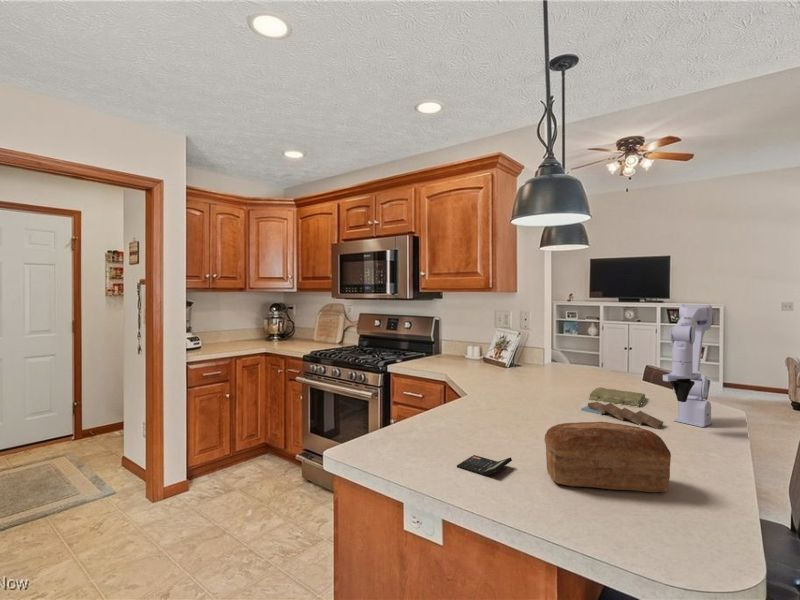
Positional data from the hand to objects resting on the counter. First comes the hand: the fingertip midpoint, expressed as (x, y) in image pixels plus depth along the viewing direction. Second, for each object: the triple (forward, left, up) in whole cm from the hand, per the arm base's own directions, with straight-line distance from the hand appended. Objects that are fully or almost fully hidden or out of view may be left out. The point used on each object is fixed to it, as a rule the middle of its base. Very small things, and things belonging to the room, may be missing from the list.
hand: (681, 401), depth 140 cm
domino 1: (+26, +1, -10) cm, 28 cm away
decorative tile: (+35, -25, -11) cm, 44 cm away
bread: (-5, +58, -11) cm, 59 cm away
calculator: (+18, +76, -11) cm, 79 cm away
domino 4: (+11, +1, -10) cm, 15 cm away
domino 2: (+25, 0, -9) cm, 26 cm away
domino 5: (+6, +1, -10) cm, 12 cm away
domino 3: (+18, +1, -10) cm, 20 cm away
